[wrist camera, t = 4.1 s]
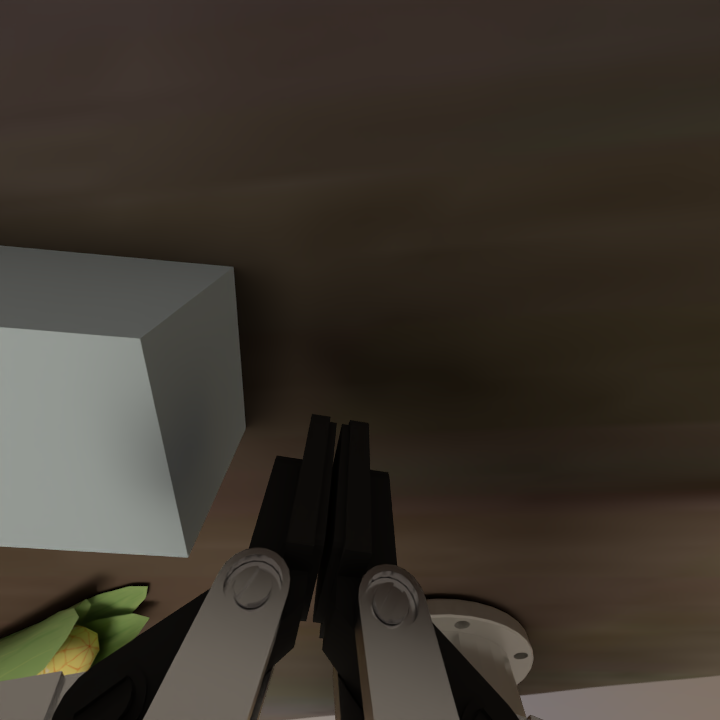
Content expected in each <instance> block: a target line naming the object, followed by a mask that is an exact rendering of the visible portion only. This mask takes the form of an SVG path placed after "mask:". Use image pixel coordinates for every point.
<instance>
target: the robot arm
mask: <svg viewBox="0 0 720 720" xmlns="http://www.w3.org/2000/svg"><path fill="white" fill-rule="evenodd" d="M336 426H337V423H333V422H330V417H327V416H321V415H315V414H312V417H311V422H310V427H309V432H308V437H307V442H306V447H305V451H304V456H303V460H302V459H296V458H289V457H283V456H277V457H276V459H275V462H274V466H273V469H272V472H271V476H270V479H269V482H268V486H267V489H266V493H265V496H264V499H263V503H262V506H261V509H260V513H259V516H258V519H257V523H256V526H255V530H254V533H253V536H252V540H251V543H250V546H249V549H245V550H243V551H241V552H239V553H237V554H235V555H234V556H233V557H231V558H230V559H229V560H228V561H227V562H226V563H225V564H224V566H223V567H222V569H221V570H220V571H219V573H218V575H217V577H216V579H215V581H214V583H213V585H212V587H211V588H210V589H209V590H207V591H206V592H204V593H203V594H201V595H200V596H198V597H197V598H195V599H194V600H192V601H191V602H189V603H187V604H186V605H184V606H183V607H181V608H180V609H178V610H177V611H175V612H174V613H172V614H171V615H169V616H168V617H166V618H165V619H163V620H162V621H160V622H159V623H157V624H156V625H154V626H153V627H151V628H150V629H148V630H147V631H145V632H144V633H142V634H141V635H139V636H138V637H136V638H134V639H133V640H131V641H130V642H128V643H127V644H125V645H124V646H122V647H121V648H119V649H118V650H116V651H115V652H113V653H112V654H110V655H109V656H107V657H106V658H104V659H103V660H101V661H100V662H98V663H97V664H95V665H94V666H92V667H91V668H90V669H89V670H87V671H86V672H80V673H75V674H69V675H64V674H63V672H62V671H59V672H53V673H47V674H41V675H35V676H29V677H23V678H17V679H12V680H6V681H0V720H259V717H260V713H261V710H262V707H263V703H264V700H265V697H266V693H267V690H268V687H269V683H270V680H271V677H272V674H273V670H274V667H275V664H276V663H277V662H278V661H279V660H280V659H281V658H283V657H284V656H285V655H286V654H287V653H288V652H289V651H290V650H291V649H292V648H293V647H294V645H295V640H296V636H297V632H298V627H299V623H300V621H306V619H307V615H308V611H309V607H310V603H311V599H312V595H313V591H314V587H315V582H316V578H317V586H316V595H315V604H314V614H313V622H317V623H321V626H320V637H319V638H323V648H322V650H323V652H324V653H325V654H326V656H327V657H328V659H329V660H330V662H331V663H332V665H333V688H334V704H335V720H542V719H540V718H537V717H535V716H532V715H530V716H529V717H528V718H526V715H525V711H524V709H523V705H522V702H521V698H520V695H519V691H518V688H517V684H519V683H520V682H521V681H522V680H523V679H524V678H525V677H526V675H527V674H528V672H529V671H530V669H531V667H532V664H533V660H534V657H533V650H532V647H531V644H530V642H529V639H528V636H527V634H526V631H525V629H524V628H523V627H522V626H521V624H520V623H519V622H518V621H517V620H515V619H514V618H512V617H511V616H510V615H508V614H507V613H505V612H503V611H500V610H498V609H496V608H494V607H491V606H488V605H484V604H481V603H477V602H472V601H465V600H459V599H426V598H425V595H424V593H423V590H422V588H421V586H420V584H419V583H418V582H417V580H416V579H415V578H414V577H413V576H412V575H411V574H410V573H409V572H407V571H406V570H405V569H403V568H400V567H398V566H397V559H396V548H395V536H394V525H393V513H392V502H391V490H390V479H389V474H388V472H381V471H375V470H370V451H369V424H368V423H364V422H358V421H352V420H350V422H349V425H345V424H342V427H341V431H340V436H339V440H338V444H337V449H336V453H335V458H334V462H333V456H334V446H335V436H336ZM332 466H333V467H332ZM317 574H318V577H317Z"/></svg>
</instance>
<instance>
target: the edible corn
mask: <svg viewBox="0 0 720 720" xmlns="http://www.w3.org/2000/svg"><path fill="white" fill-rule="evenodd" d="M147 588H148V586H129V587H125V588H121V589H118V590H114V591H110V592H106V593H103V594H99V595H96V596H94V597H92V598H90V599H88V600H87V599H85V600H83V601H81V602H79V603H77V604H75V605H74V606H72V607H70V608H68V609H66V610H63V611H59V612H57V613H56V614H54V615H52V616H51V617H49V618H47V619H45V620H44V621H41V622H39V623H37V624H34V625H32V626H30V627H27V628H25V629H23V630H20V631H18V632H16V633H13V634H11V635H9V636H7V637H4V638H2V639H0V681H6V680H12V679H17V678H23V677H29V676H35V675H41V674H47V673H53V672H59V671H62V672H63V674H64V675H69V674H75V673H80V672H86V671H87V670H89V669H90V668H91V667H92V666H94V665H95V664H97V663H98V662H100V661H101V660H103V659H104V658H106V657H107V656H109V655H110V654H112V653H113V652H115V651H116V650H118V649H119V648H121V647H122V646H124V645H125V644H127V643H128V642H130V641H131V640H133V639H134V638H135V637H136V636H137V635H138V634H139V632H140V631H141V629H142V628H143V627H144V625H145V624H146V622H147V621H148V619H149V618H148V617H145V616H141V615H138V614H134V613H133V614H132V612H133V611H134V610H135V609H136V608H137V607H138V606H139V605H140V604H141V602H142V601H143V600H144V599H145V598H146V594H147Z"/></svg>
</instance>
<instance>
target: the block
mask: <svg viewBox="0 0 720 720" xmlns="http://www.w3.org/2000/svg"><path fill="white" fill-rule="evenodd" d="M245 429H246V423H245V410H244V397H243V384H242V370H241V357H240V344H239V331H238V318H237V305H236V292H235V279H234V267H229V266H218V265H207V264H196V263H185V262H174V261H163V260H152V259H142V258H131V257H120V256H109V255H98V254H87V253H76V252H65V251H54V250H43V249H32V248H21V247H10V246H0V546H3V547H20V548H37V549H54V550H71V551H87V552H104V553H121V554H138V555H154V556H171V557H189V555H190V552H191V550H192V548H193V546H194V543H195V541H196V539H197V537H198V534H199V532H200V530H201V528H202V525H203V523H204V521H205V519H206V516H207V514H208V512H209V510H210V508H211V505H212V503H213V501H214V499H215V496H216V494H217V492H218V490H219V487H220V485H221V483H222V481H223V478H224V476H225V474H226V472H227V469H228V467H229V465H230V463H231V461H232V458H233V456H234V454H235V452H236V449H237V447H238V445H239V443H240V440H241V438H242V436H243V434H244V431H245Z"/></svg>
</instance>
